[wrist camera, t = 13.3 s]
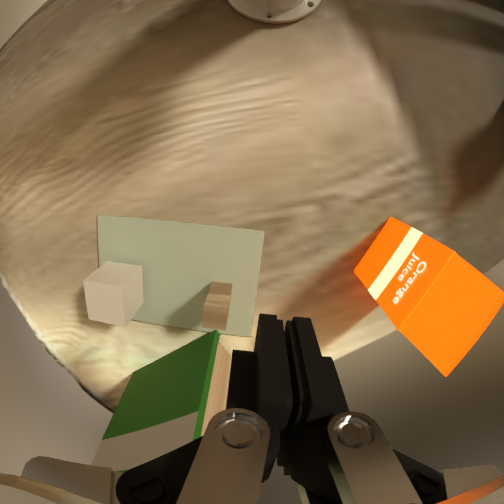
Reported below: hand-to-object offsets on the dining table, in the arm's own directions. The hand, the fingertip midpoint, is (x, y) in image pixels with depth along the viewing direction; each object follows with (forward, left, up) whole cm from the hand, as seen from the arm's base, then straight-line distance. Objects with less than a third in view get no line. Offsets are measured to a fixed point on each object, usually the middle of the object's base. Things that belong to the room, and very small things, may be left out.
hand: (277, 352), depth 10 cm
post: (+11, -4, -27) cm, 29 cm away
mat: (+10, -10, -27) cm, 31 cm away
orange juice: (+4, +18, -27) cm, 33 cm away
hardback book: (+25, -9, -27) cm, 38 cm away
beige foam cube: (+11, -17, -26) cm, 33 cm away
